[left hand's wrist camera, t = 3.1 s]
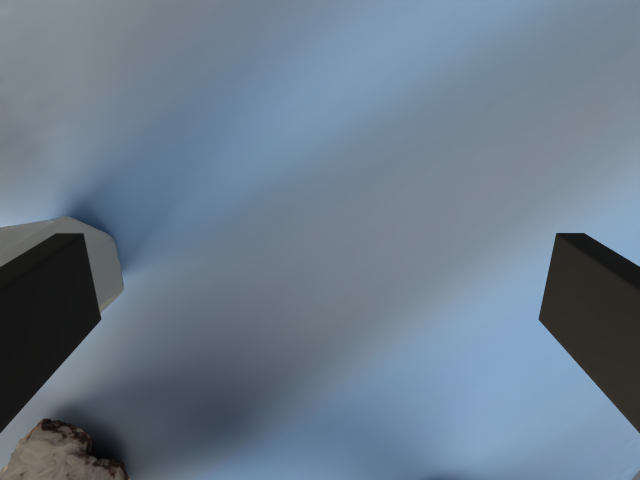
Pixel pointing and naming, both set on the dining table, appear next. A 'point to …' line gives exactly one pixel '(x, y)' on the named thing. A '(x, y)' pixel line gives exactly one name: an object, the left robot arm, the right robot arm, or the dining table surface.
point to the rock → (59, 456)
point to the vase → (100, 246)
